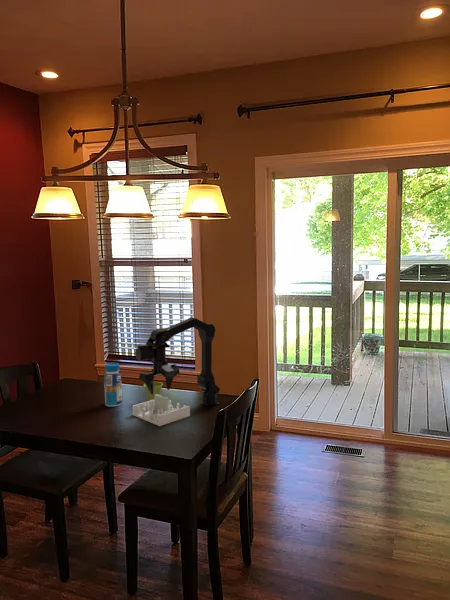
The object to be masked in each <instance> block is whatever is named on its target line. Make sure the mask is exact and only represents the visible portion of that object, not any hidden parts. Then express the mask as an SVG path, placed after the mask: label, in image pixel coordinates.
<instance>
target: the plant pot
mask: <svg viewBox="0 0 450 600" xmlns="http://www.w3.org/2000/svg"><path fill="white" fill-rule="evenodd" d="M163 385H164V384H163V382H159V381H154V383H153V394H151V393H150V391H149V389H148V387H147V385H146V384H145V383H144V384H143V387H144V389H145V394H146V400H147V401H150V400H154V395H156V394H158V395H161V396H162V388H163Z"/></svg>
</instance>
